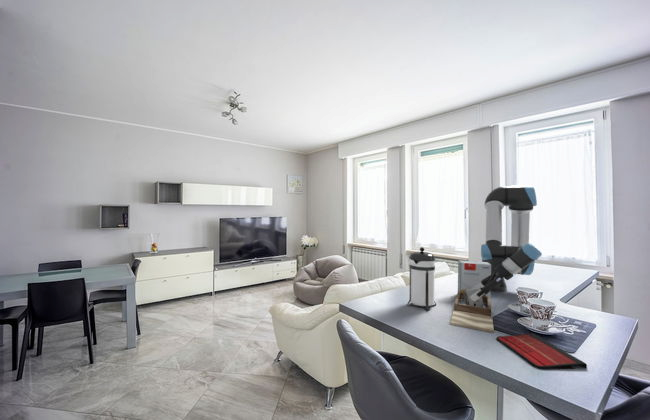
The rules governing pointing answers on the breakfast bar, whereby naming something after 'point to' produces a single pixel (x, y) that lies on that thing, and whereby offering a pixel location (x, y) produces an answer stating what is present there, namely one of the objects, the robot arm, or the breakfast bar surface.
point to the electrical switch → (470, 302)
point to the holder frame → (473, 308)
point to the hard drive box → (472, 274)
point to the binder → (540, 352)
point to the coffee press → (422, 279)
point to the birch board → (472, 321)
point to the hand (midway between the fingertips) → (472, 295)
